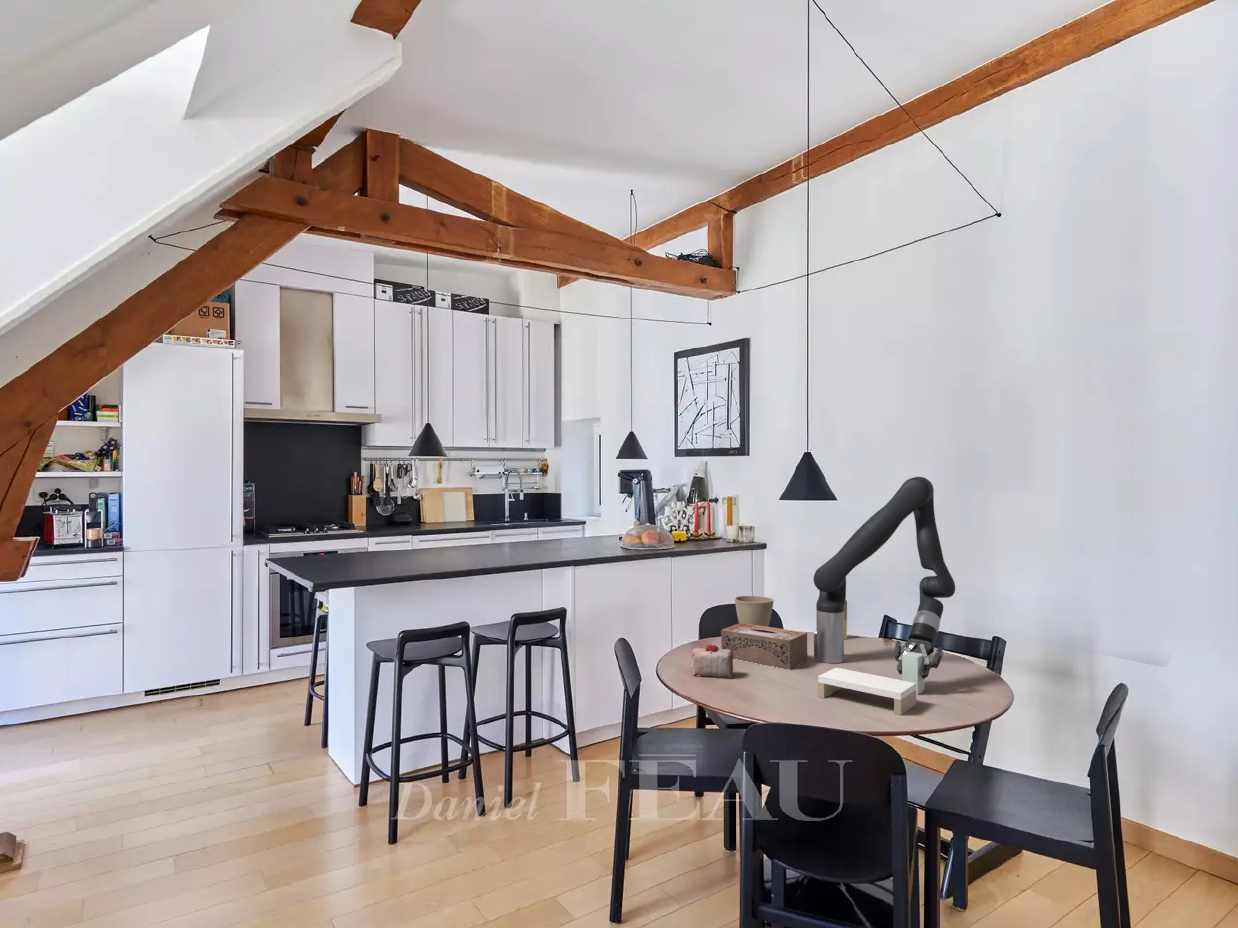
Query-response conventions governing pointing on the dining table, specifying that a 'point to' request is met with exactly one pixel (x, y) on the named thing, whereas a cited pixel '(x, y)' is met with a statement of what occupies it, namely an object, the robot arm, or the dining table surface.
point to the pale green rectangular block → (913, 670)
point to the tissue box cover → (765, 645)
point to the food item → (712, 662)
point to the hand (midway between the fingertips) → (911, 674)
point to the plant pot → (754, 610)
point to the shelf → (869, 687)
